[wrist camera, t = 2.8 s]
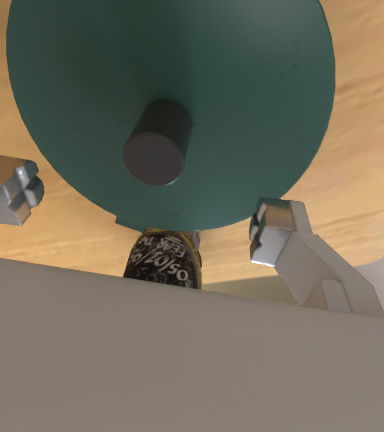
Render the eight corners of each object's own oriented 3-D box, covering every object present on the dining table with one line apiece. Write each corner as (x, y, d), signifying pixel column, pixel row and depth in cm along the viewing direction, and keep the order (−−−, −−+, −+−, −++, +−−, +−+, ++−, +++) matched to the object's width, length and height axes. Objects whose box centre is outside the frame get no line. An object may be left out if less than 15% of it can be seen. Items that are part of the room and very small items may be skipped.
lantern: (160, 196, 29) (44, 587, 11) (221, 231, 32) (206, 594, 14) (127, 239, 35) (11, 550, 17) (181, 265, 37) (132, 560, 19)
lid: (24, 170, 19) (-22, 219, 15) (11, -225, 8) (-143, -348, 5) (232, 245, 22) (232, 300, 18) (415, 21, 11) (494, 51, 8)
